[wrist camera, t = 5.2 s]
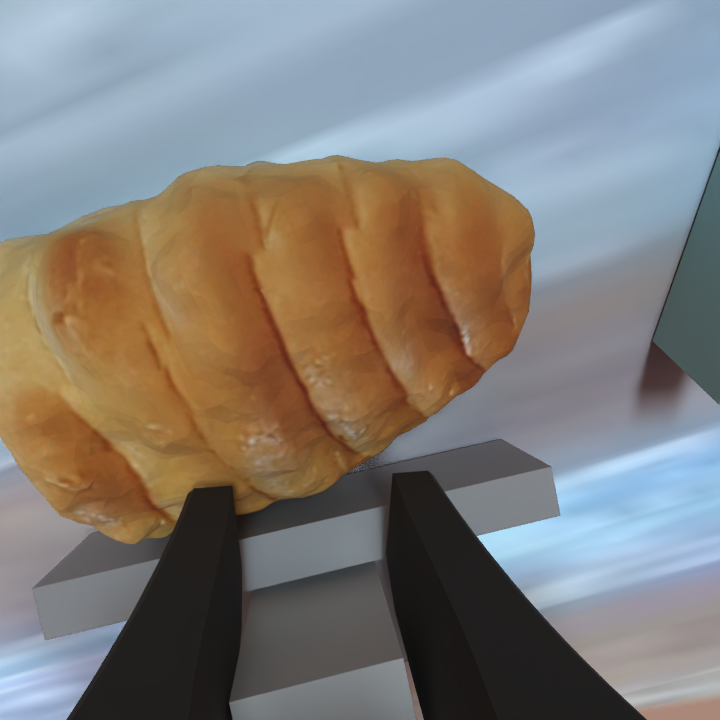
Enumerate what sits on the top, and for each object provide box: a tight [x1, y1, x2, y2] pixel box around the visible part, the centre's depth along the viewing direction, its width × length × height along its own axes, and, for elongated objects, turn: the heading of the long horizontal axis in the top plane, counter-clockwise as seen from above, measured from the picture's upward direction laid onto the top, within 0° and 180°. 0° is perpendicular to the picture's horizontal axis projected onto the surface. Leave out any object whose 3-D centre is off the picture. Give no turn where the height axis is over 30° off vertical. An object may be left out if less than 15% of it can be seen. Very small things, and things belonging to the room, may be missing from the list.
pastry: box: [0, 155, 535, 544], centre depth 11 cm, size 9×7×4 cm
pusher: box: [32, 439, 560, 720], centre depth 11 cm, size 10×4×6 cm
